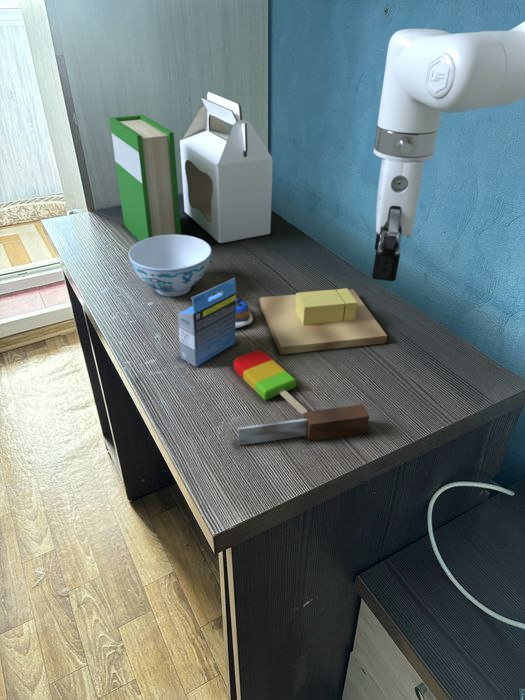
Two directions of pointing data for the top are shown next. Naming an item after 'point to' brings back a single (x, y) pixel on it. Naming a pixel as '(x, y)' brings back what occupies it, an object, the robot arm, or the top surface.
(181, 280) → the chinaware
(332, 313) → the butter block
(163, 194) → the hardback book
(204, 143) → the gable box
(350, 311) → the butter slice
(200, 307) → the label tape box
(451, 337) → the top surface
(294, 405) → the popsicle
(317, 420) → the knife
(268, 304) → the cutting board
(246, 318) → the dessert
